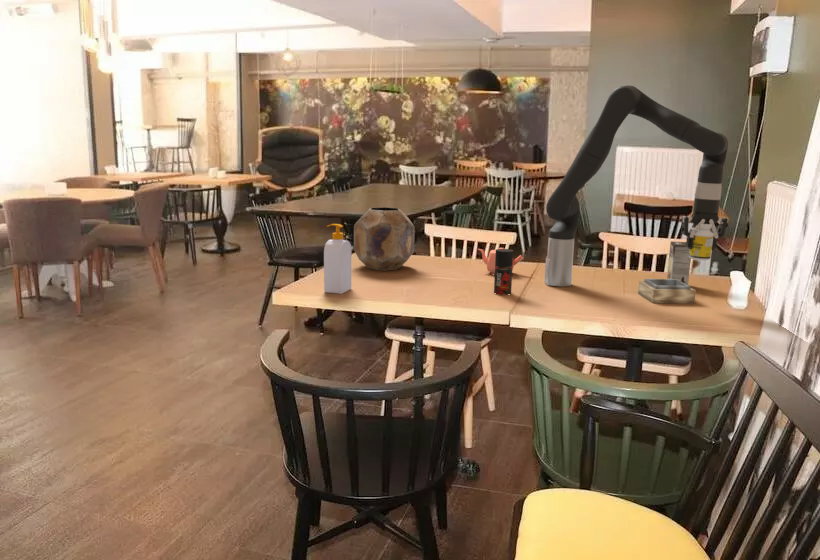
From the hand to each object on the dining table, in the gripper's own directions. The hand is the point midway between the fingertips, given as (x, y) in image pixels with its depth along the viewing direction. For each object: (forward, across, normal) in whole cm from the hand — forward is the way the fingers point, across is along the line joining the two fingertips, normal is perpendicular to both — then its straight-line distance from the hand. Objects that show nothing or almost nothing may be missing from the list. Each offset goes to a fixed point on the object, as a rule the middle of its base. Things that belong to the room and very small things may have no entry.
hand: (700, 249), depth 218 cm
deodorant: (+20, -61, +13) cm, 65 cm away
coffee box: (+19, +6, +29) cm, 35 cm away
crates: (+19, -6, +9) cm, 22 cm away
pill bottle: (+3, 0, 0) cm, 3 cm away
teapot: (+21, -57, +48) cm, 77 cm away
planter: (+21, -103, +56) cm, 119 cm away
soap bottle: (+21, -118, +13) cm, 120 cm away
